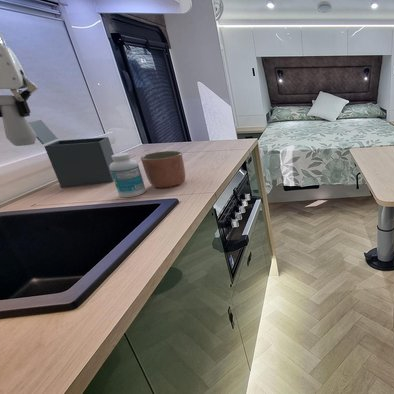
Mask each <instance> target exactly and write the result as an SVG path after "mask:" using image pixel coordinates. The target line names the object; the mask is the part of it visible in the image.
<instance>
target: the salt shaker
mask: <svg viewBox="0 0 394 394" xmlns="http://www.w3.org/2000/svg"><path fill="white" fill-rule="evenodd" d="M15 101H17V100H16V97H15V96H14V95H12V94H1V95H0V108H1V113H2V117H1V119H2V123H3V128H4V133H5V134H4V135H5V138H6V139H7V140H8V141H9V142H10V143H11V144H12V145H13V146H16V147H24V146H25V147H26V146H31V145H35V144H36V140H37V138H36V137H37V135H36V133H35V132H34V130H33V129H32V127H31V126H30V124H29V121H28V119H27V118H26V117H22V116H20V113H19V111H18V108H17V106H16V103H15Z"/></svg>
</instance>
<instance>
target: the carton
mask: <svg viewBox="0 0 394 394" xmlns="http://www.w3.org/2000/svg"><path fill="white" fill-rule="evenodd" d="M44 149H45V151H46V154H47V158H48V159H49V161H50V164H51V167H52V169H53V171H54V173H55V176H56V178H57V181H58V183H59V186H60V189H64V188H65V189H66V188H74V187H81V186H83V187H84V186H91V185H100V184H109V183H114V179H113V176H112V173H111V170H110V167H109V166H110V164H111V163H112V162H114V160H113V159H112V155H114V151H113V148H112V145H111V142H110V139H109V137H107V136H105V137H90V138H77V139H75V138H74V139H61V140H56V141H53V142H50V143H49V144H47V145H44Z"/></svg>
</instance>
